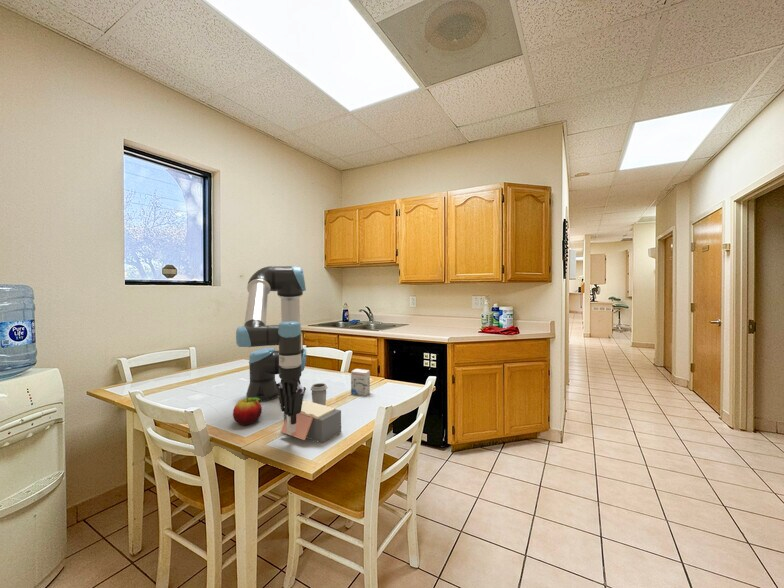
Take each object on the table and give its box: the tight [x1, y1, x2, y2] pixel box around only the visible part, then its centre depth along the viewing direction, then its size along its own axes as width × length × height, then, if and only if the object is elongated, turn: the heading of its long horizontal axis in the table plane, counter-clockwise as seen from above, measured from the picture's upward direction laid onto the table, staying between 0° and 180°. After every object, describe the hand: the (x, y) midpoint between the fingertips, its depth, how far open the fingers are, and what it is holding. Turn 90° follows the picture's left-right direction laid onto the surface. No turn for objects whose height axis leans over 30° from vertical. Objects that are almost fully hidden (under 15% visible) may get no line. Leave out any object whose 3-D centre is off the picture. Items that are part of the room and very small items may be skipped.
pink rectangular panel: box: [280, 414, 313, 441], centre depth 117 cm, size 12×8×1 cm
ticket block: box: [283, 399, 342, 444], centre depth 124 cm, size 20×10×9 cm, turn 58°
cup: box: [310, 382, 328, 406], centre depth 141 cm, size 7×7×12 cm
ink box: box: [350, 368, 371, 397], centre depth 164 cm, size 9×5×12 cm, turn 68°
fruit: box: [232, 397, 263, 426], centre depth 132 cm, size 11×11×10 cm
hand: (291, 432), depth 115 cm, fingers closed
